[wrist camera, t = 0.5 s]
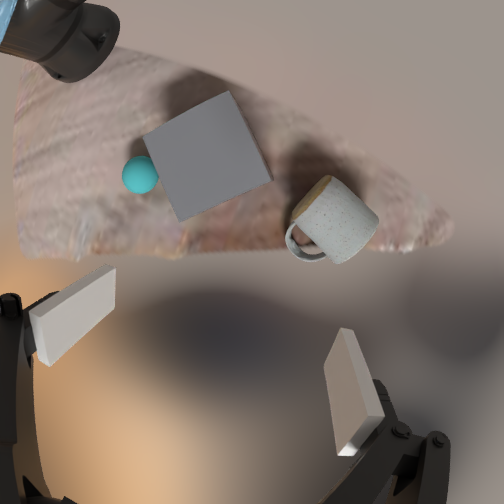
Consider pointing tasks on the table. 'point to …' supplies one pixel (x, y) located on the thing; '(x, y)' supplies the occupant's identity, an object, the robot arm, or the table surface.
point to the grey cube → (207, 156)
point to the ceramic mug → (332, 221)
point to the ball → (139, 174)
